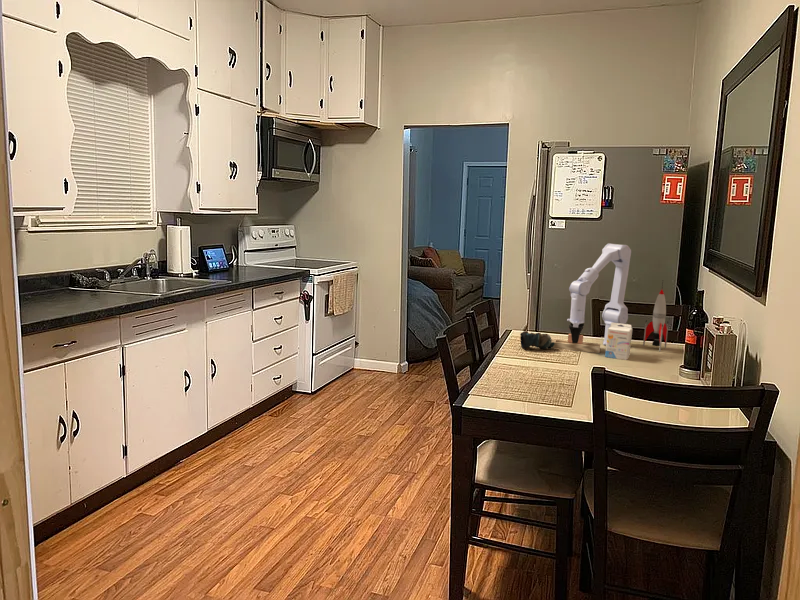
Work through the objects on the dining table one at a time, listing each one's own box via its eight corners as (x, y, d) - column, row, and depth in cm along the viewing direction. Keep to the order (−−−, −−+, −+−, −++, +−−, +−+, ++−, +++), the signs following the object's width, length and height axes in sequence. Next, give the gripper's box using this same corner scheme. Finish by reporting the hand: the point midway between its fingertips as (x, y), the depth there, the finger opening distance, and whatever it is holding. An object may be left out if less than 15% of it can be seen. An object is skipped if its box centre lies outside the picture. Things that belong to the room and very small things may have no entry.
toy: (665, 347, 266) (672, 279, 261) (671, 352, 258) (679, 281, 253) (642, 346, 267) (648, 278, 262) (648, 350, 258) (655, 280, 254)
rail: (599, 349, 258) (600, 343, 258) (599, 353, 251) (599, 347, 251) (551, 344, 264) (551, 338, 264) (549, 347, 258) (550, 342, 258)
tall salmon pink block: (582, 347, 258) (583, 335, 257) (582, 348, 256) (583, 336, 255) (567, 346, 260) (568, 333, 259) (567, 347, 258) (568, 334, 257)
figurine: (516, 332, 260) (552, 329, 259) (518, 351, 259) (554, 348, 258) (519, 330, 251) (555, 327, 250) (520, 350, 250) (558, 348, 249)
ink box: (604, 357, 245) (607, 324, 243) (608, 352, 253) (610, 321, 250) (627, 360, 241) (630, 326, 239) (630, 355, 249) (633, 323, 247)
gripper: (569, 306, 263) (566, 337, 266) (566, 311, 250) (564, 343, 252) (586, 307, 261) (583, 338, 263) (584, 312, 248) (581, 345, 250)
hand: (575, 341), depth 257 cm, fingers open, 5 cm apart
